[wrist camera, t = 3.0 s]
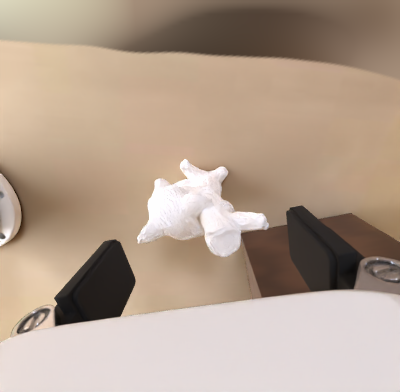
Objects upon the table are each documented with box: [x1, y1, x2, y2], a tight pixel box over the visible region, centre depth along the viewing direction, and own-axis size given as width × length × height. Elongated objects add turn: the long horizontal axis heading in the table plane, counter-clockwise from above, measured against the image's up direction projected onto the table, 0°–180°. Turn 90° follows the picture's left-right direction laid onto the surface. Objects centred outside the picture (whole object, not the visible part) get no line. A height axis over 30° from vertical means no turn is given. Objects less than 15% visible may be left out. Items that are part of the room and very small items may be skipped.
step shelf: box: [241, 213, 400, 299], centre depth 22 cm, size 13×22×11 cm, turn 13°
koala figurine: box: [137, 160, 269, 257], centre depth 16 cm, size 8×7×12 cm
